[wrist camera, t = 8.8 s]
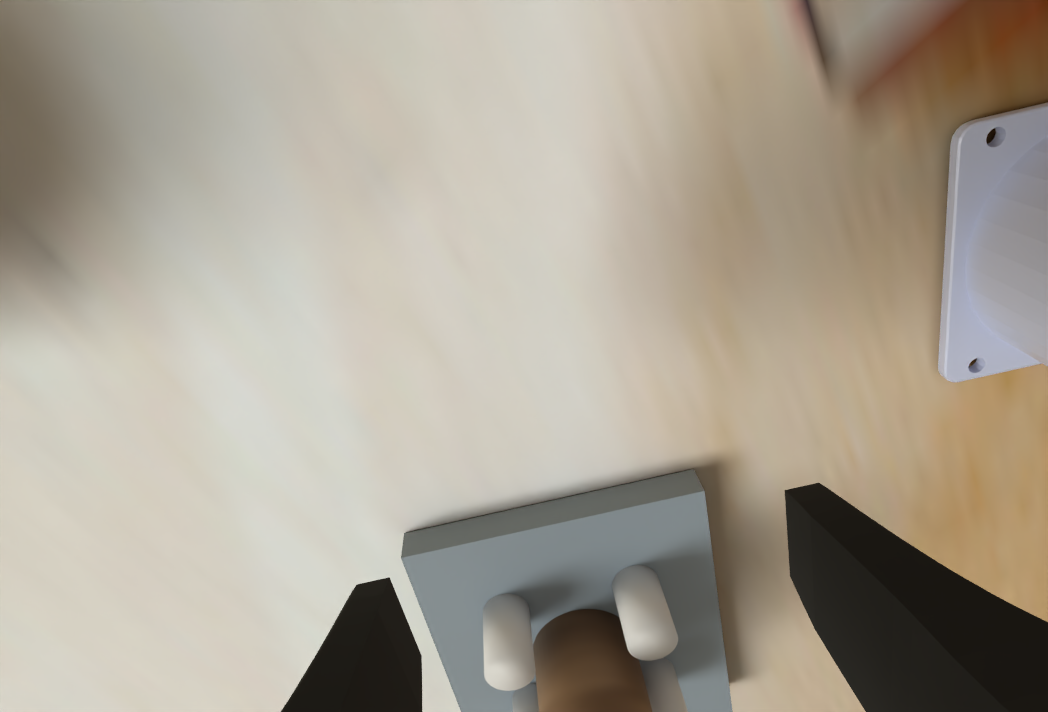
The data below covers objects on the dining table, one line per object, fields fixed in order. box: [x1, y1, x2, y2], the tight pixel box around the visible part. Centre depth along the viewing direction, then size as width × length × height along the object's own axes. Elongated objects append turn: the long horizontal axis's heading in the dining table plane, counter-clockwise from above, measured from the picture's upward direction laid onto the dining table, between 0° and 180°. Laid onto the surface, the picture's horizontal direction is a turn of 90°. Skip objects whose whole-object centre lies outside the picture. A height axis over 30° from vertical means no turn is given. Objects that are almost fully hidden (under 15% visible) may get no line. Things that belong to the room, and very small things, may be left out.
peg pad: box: [401, 469, 732, 712], centre depth 24 cm, size 10×11×4 cm
